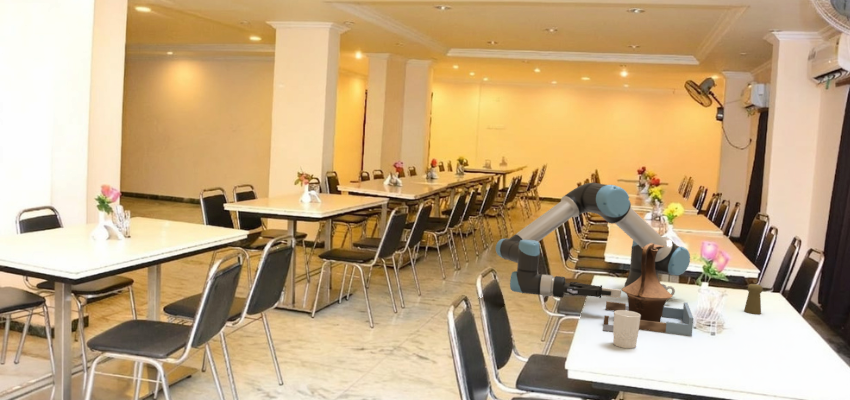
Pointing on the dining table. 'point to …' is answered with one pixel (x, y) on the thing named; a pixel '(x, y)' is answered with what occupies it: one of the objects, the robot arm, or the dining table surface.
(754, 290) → the cork
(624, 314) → the beige tumbler
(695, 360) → the dining table surface
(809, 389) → the dining table surface
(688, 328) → the pocket
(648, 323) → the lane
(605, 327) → the mat
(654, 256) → the pitcher
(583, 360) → the dining table surface
